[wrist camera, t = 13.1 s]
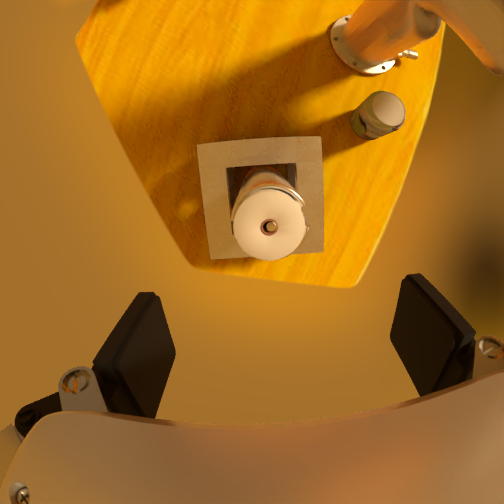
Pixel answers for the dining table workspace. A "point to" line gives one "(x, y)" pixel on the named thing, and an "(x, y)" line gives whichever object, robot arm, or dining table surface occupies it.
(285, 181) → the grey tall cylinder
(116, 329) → the robot arm
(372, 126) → the beverage can
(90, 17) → the dining table surface
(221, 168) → the collar stand
